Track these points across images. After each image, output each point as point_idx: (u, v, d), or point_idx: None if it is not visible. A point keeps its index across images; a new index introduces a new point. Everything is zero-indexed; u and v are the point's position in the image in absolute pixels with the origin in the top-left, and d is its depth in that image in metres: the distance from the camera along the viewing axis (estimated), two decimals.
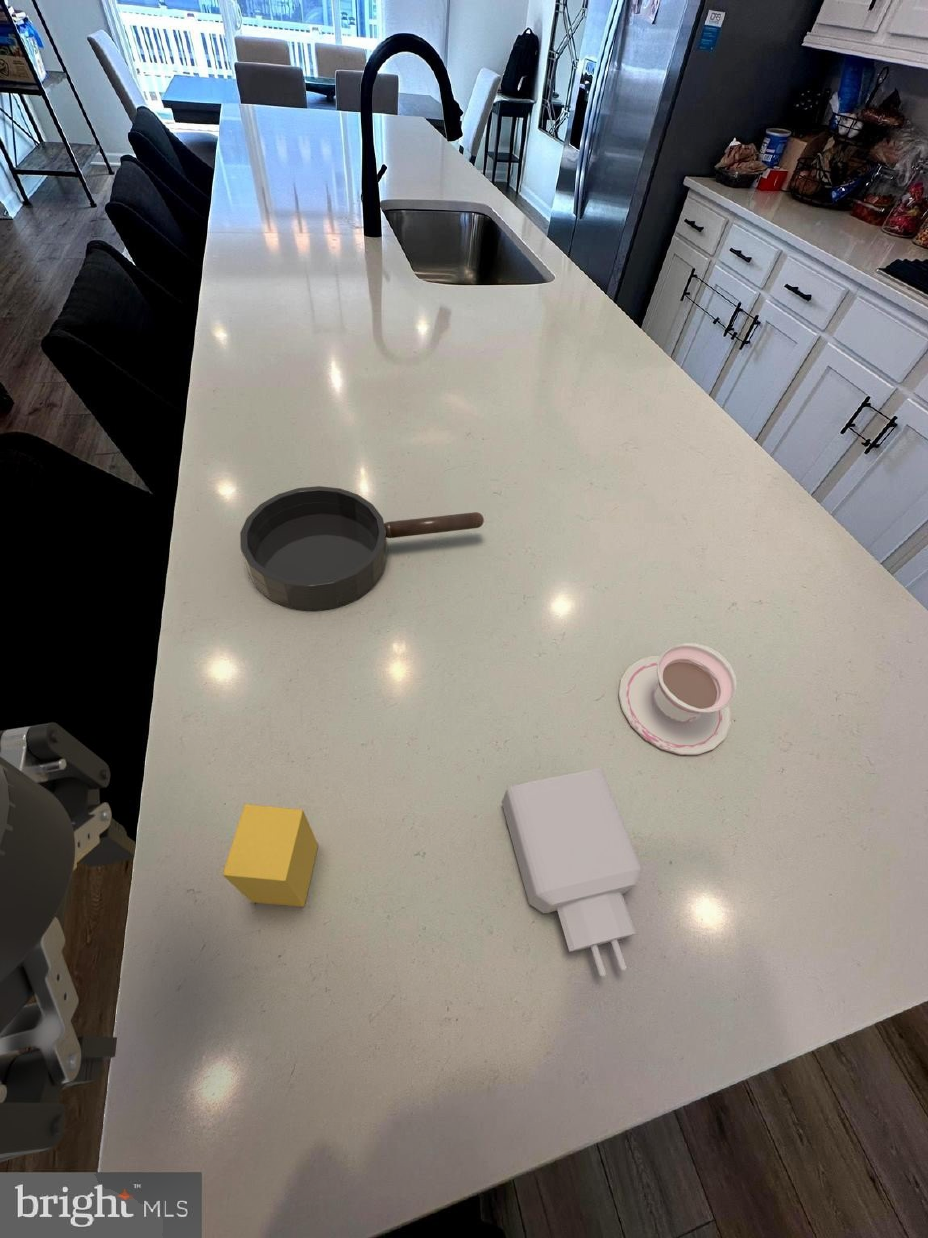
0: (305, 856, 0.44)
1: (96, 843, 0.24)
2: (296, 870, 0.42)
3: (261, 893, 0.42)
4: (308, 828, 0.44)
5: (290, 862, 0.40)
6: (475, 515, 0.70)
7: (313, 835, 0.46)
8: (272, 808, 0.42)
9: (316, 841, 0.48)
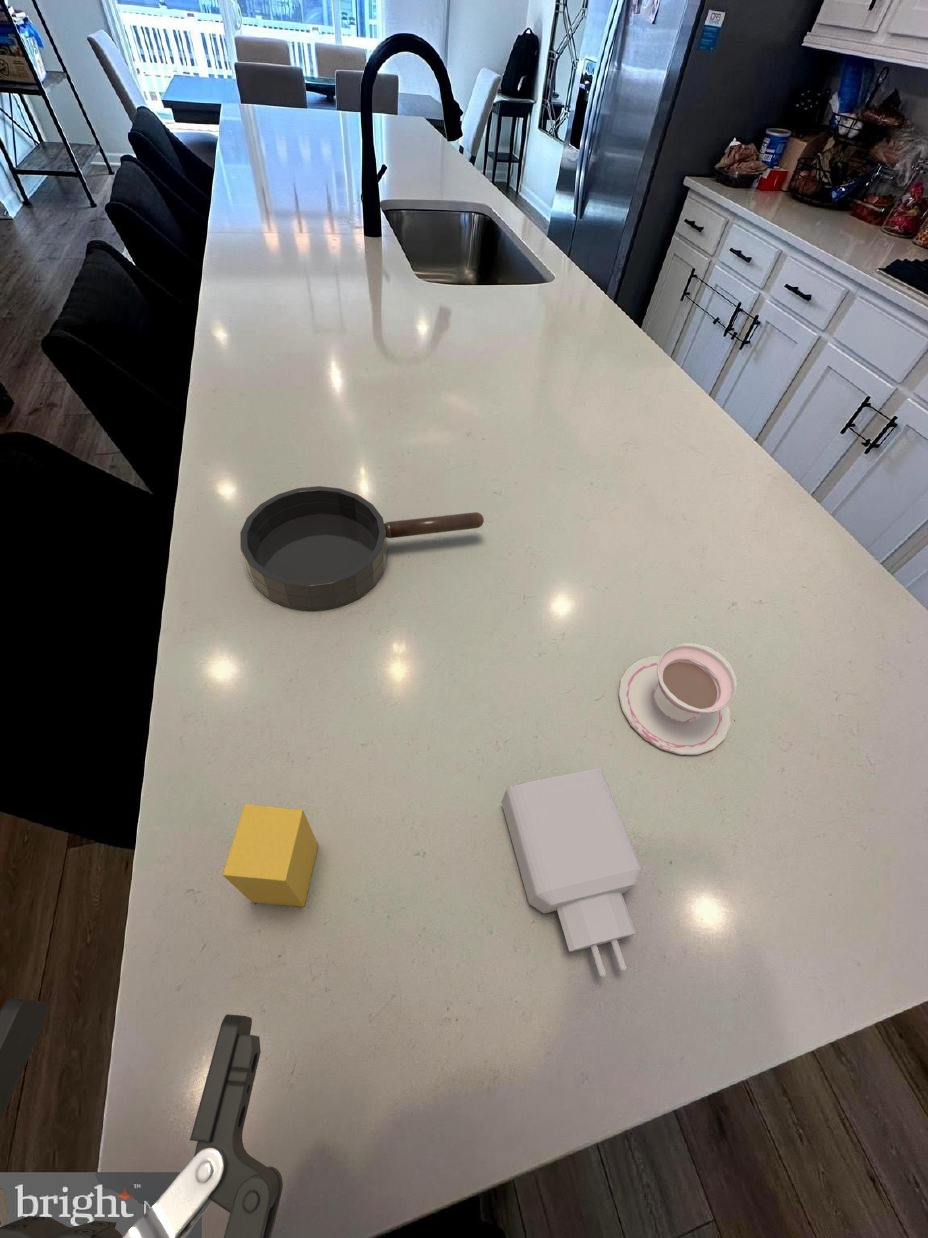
0: (305, 856, 0.44)
1: None
2: (296, 870, 0.42)
3: (261, 893, 0.42)
4: (308, 828, 0.44)
5: (290, 862, 0.40)
6: (475, 515, 0.70)
7: (313, 835, 0.46)
8: (272, 808, 0.42)
9: (316, 841, 0.48)
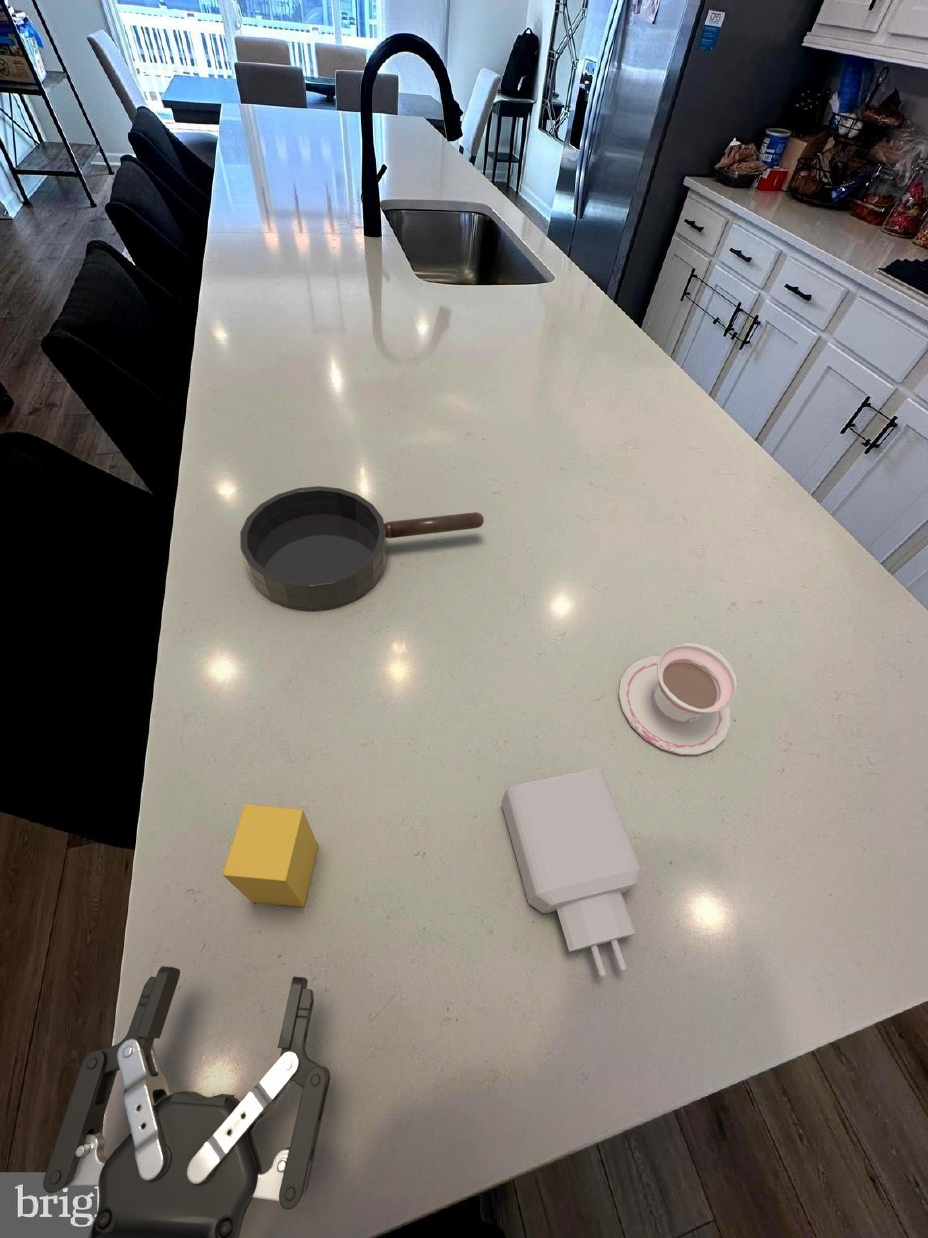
0: (305, 856, 0.44)
1: (145, 1091, 0.32)
2: (296, 870, 0.42)
3: (261, 893, 0.42)
4: (308, 828, 0.44)
5: (290, 862, 0.40)
6: (475, 515, 0.70)
7: (313, 835, 0.46)
8: (272, 808, 0.42)
9: (316, 841, 0.48)
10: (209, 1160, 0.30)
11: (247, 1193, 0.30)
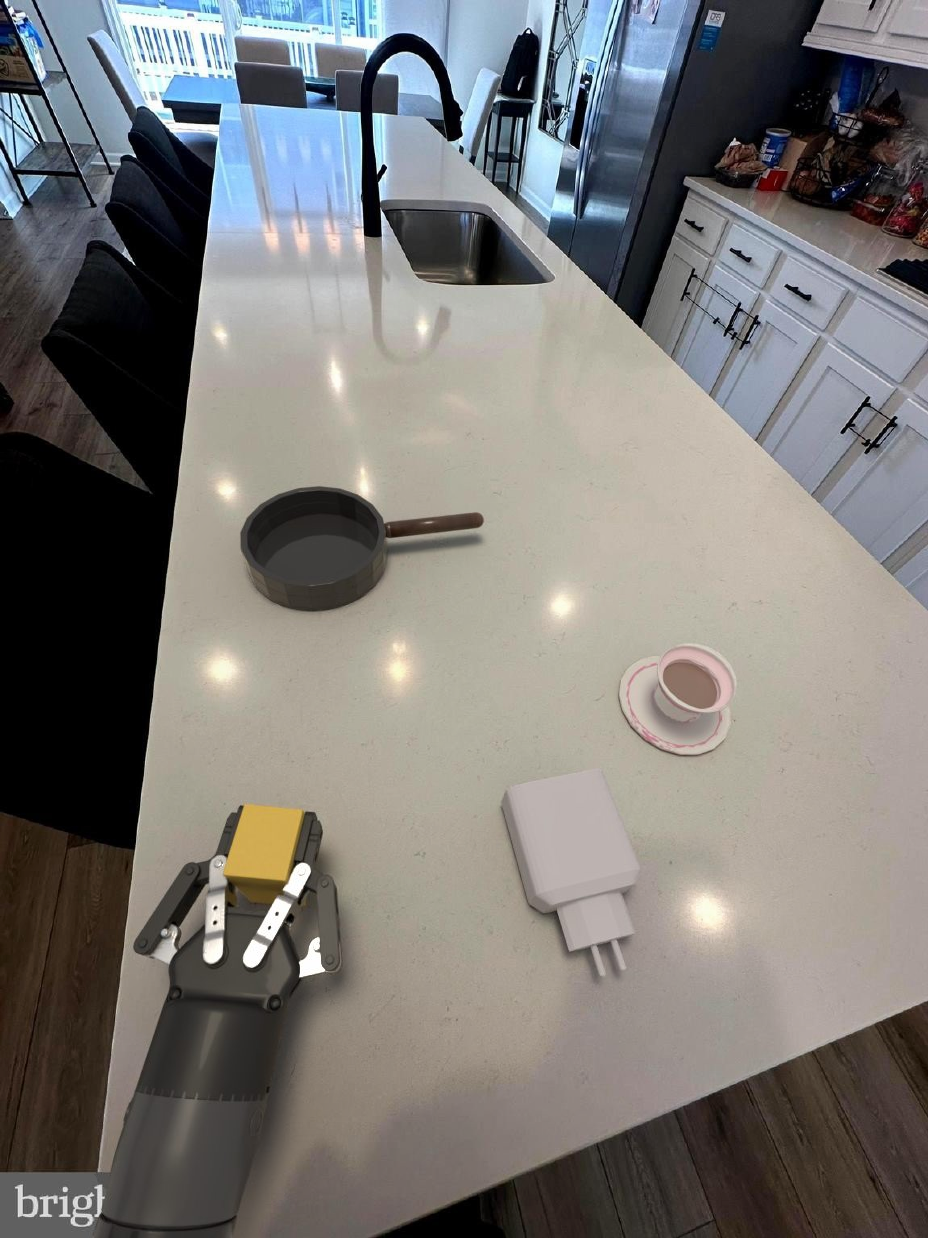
0: None
1: (223, 897, 0.38)
2: None
3: (261, 893, 0.42)
4: None
5: (290, 862, 0.40)
6: (475, 515, 0.70)
7: None
8: (272, 808, 0.42)
9: None
10: (261, 951, 0.36)
11: (294, 973, 0.36)
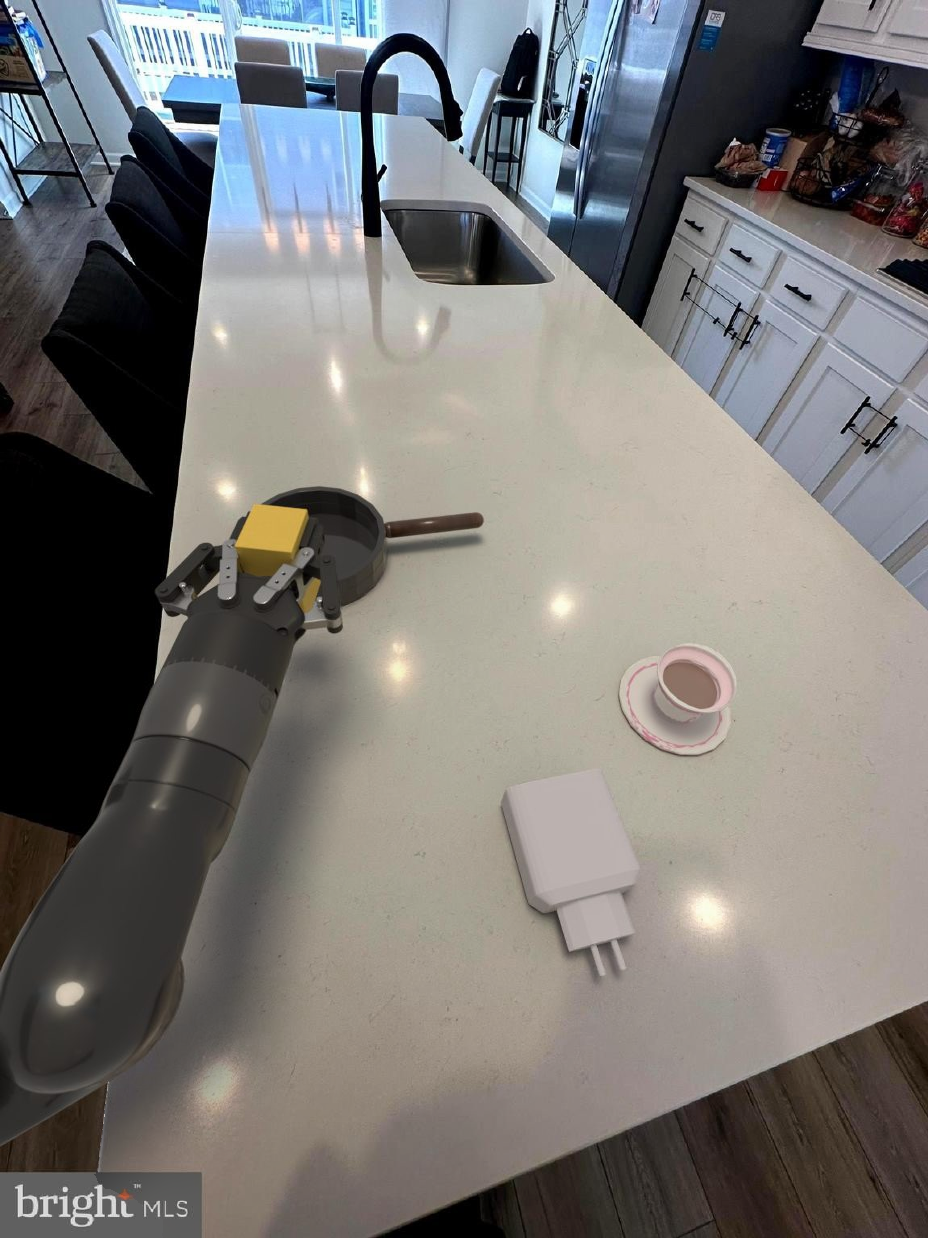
0: None
1: (235, 562, 0.42)
2: None
3: None
4: None
5: (295, 542, 0.44)
6: (475, 515, 0.70)
7: None
8: (279, 507, 0.46)
9: None
10: (269, 594, 0.40)
11: (299, 616, 0.40)
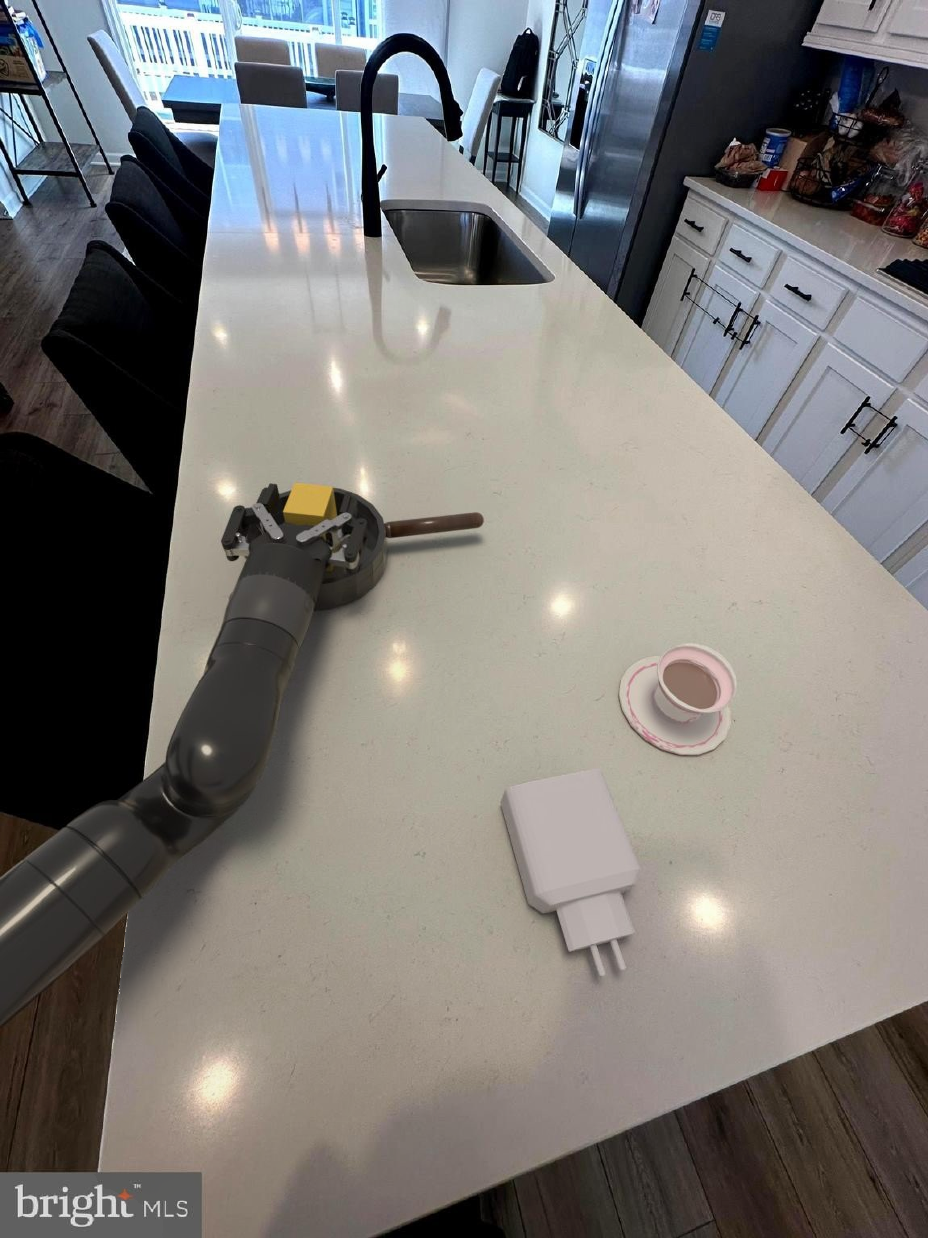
0: None
1: (270, 515, 0.58)
2: None
3: None
4: (335, 511, 0.66)
5: (326, 509, 0.61)
6: (475, 515, 0.70)
7: None
8: (312, 485, 0.63)
9: None
10: (307, 535, 0.57)
11: (327, 553, 0.57)
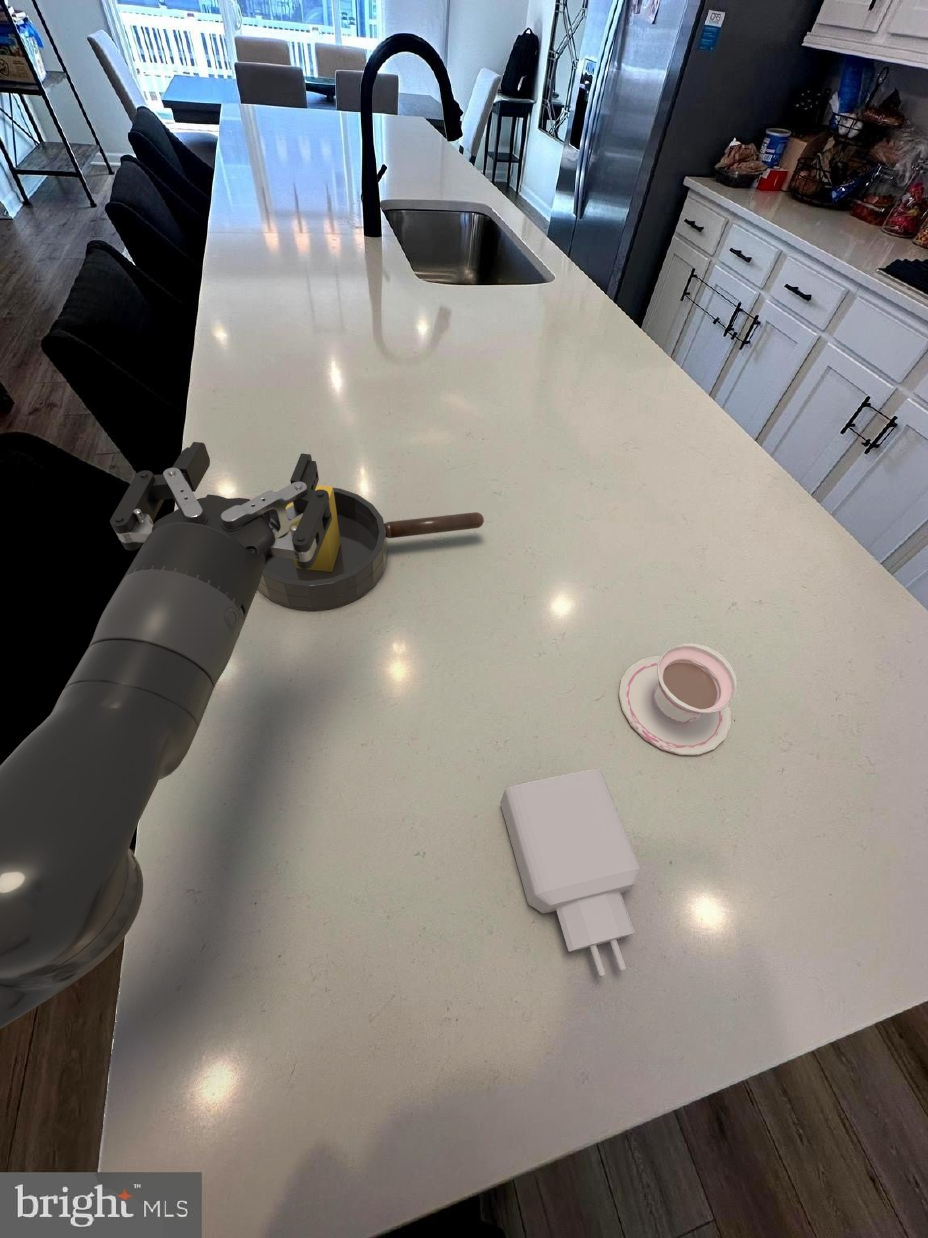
0: (333, 530, 0.66)
1: (187, 484, 0.40)
2: None
3: None
4: (335, 511, 0.66)
5: None
6: (475, 515, 0.70)
7: None
8: None
9: (339, 536, 0.69)
10: (238, 512, 0.39)
11: (267, 539, 0.39)
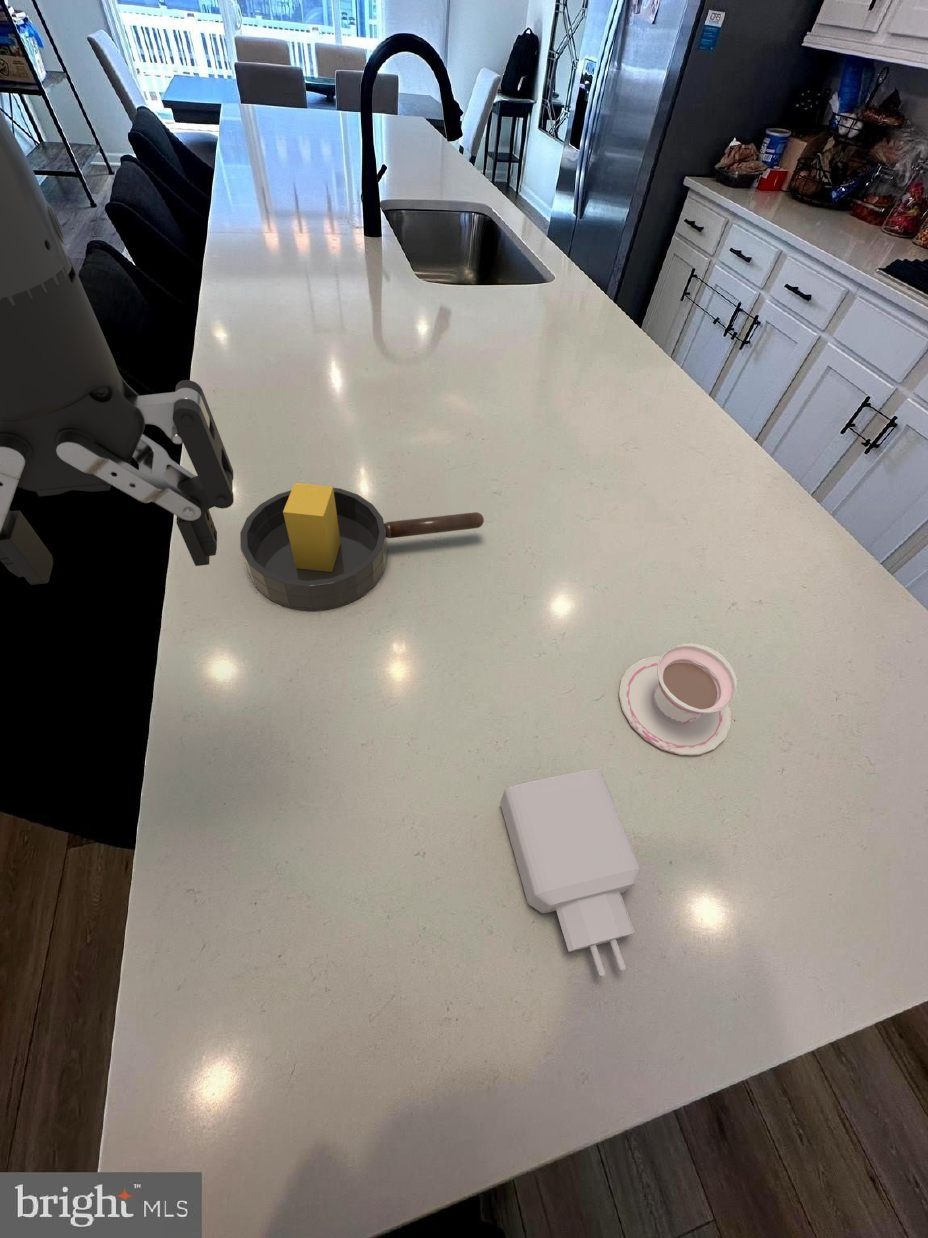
0: (333, 530, 0.66)
1: None
2: (328, 526, 0.63)
3: (305, 546, 0.64)
4: (335, 511, 0.66)
5: (326, 509, 0.61)
6: (475, 515, 0.70)
7: None
8: (312, 485, 0.63)
9: (339, 536, 0.69)
10: None
11: None
